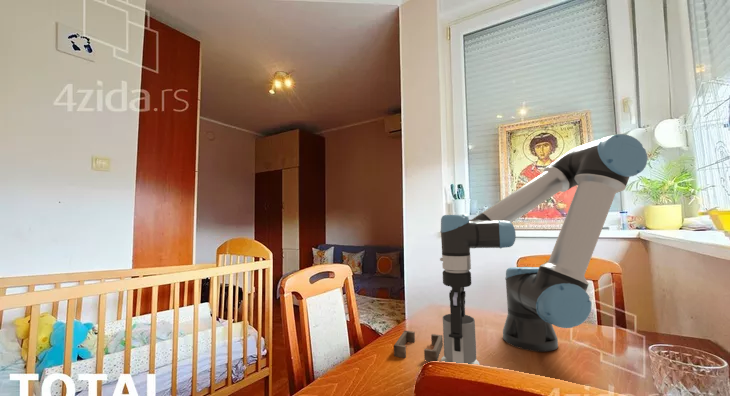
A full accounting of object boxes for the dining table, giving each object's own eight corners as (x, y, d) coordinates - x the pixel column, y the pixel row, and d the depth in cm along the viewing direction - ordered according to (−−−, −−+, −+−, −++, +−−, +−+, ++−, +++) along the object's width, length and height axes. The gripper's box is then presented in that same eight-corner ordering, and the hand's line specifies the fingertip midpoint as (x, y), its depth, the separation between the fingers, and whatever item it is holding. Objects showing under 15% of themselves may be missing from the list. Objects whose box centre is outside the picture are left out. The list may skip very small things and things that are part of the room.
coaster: (480, 358, 83) (480, 356, 83) (479, 376, 74) (479, 374, 74) (443, 352, 87) (443, 351, 87) (438, 369, 78) (438, 367, 78)
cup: (478, 365, 76) (476, 324, 76) (445, 362, 78) (443, 323, 78) (473, 350, 84) (471, 314, 85) (443, 348, 86) (442, 312, 86)
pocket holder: (442, 345, 92) (442, 335, 92) (436, 363, 81) (436, 351, 81) (405, 339, 97) (404, 330, 97) (394, 356, 86) (393, 345, 86)
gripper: (447, 263, 93) (450, 338, 92) (436, 277, 74) (439, 371, 73) (472, 264, 91) (476, 341, 89) (468, 278, 71) (472, 377, 70)
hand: (459, 354), depth 81 cm, fingers closed on cup, 8 cm apart
